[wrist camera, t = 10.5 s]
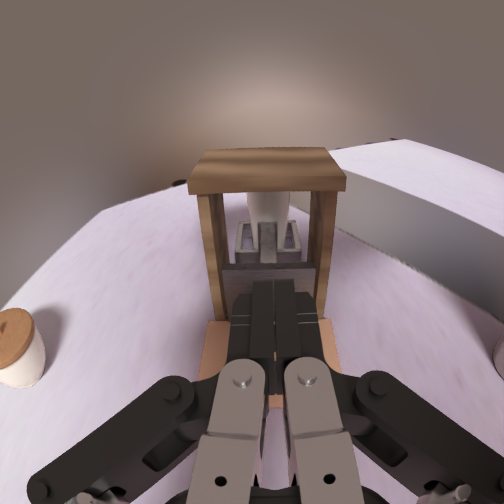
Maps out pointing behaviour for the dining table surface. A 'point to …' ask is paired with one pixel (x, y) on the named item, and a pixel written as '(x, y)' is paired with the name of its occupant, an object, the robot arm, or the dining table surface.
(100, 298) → the dining table surface
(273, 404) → the board
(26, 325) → the lidded jar
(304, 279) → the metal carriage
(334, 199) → the walnut tunnel
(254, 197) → the drinking glass
